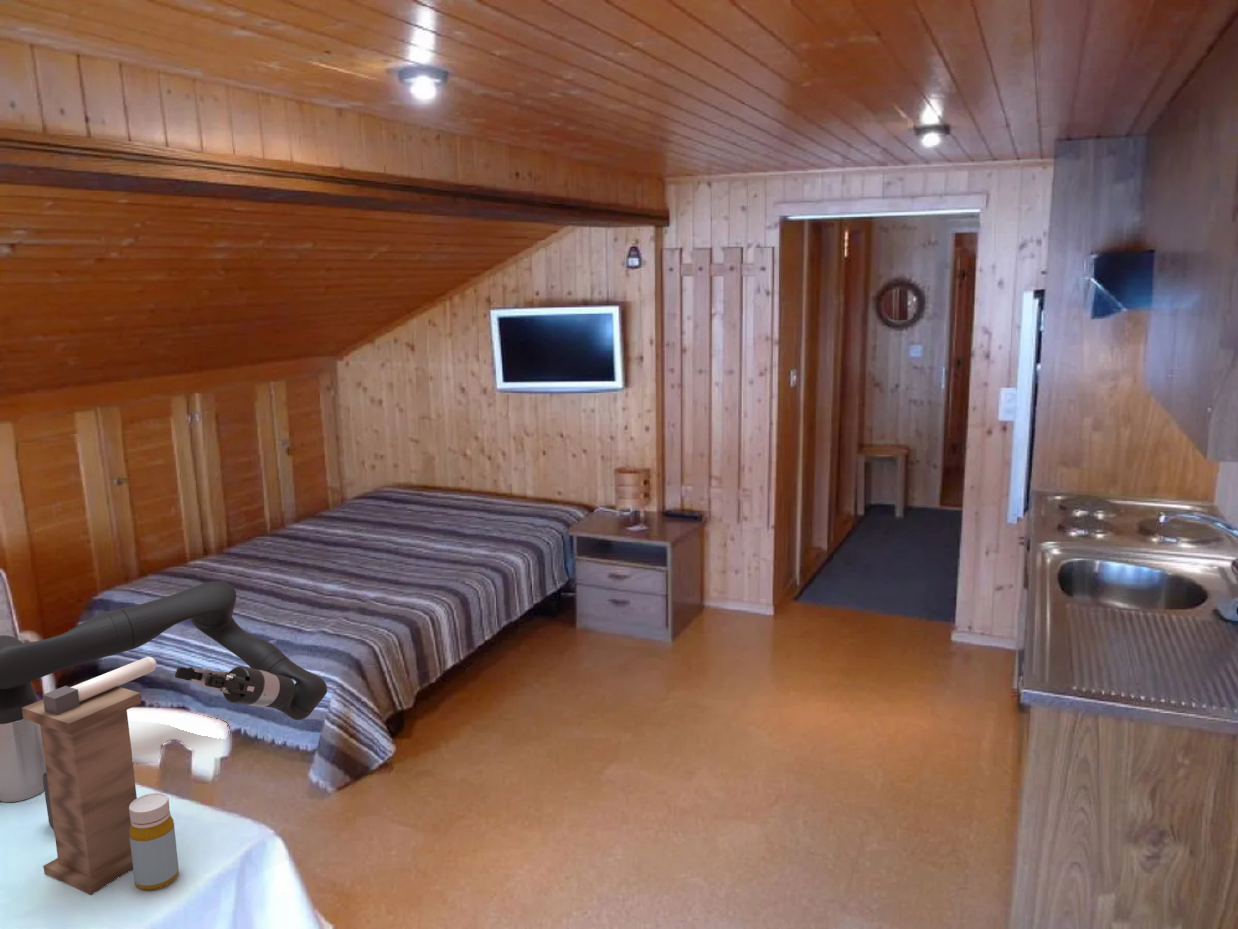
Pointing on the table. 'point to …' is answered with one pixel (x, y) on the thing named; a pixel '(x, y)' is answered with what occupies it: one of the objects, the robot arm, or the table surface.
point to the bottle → (153, 842)
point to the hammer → (95, 686)
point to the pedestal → (89, 787)
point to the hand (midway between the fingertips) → (191, 676)
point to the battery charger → (47, 799)
